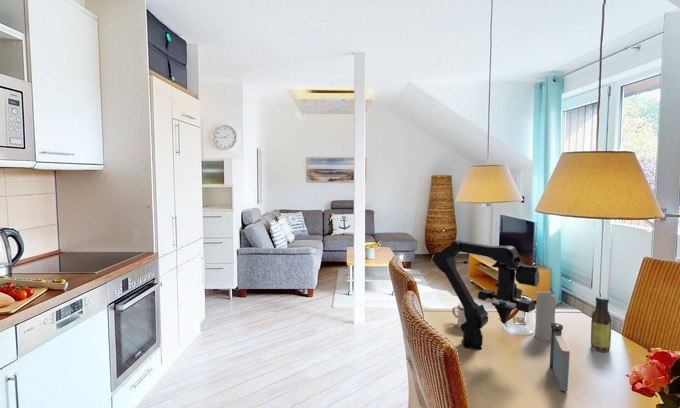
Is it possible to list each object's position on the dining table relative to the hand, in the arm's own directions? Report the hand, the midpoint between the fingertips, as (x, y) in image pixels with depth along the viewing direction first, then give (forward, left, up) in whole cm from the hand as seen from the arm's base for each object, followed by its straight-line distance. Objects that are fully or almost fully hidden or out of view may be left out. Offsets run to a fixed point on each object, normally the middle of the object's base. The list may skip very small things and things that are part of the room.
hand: (504, 323), depth 134 cm
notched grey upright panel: (+23, +23, -12) cm, 35 cm away
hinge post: (+15, -6, -12) cm, 20 cm away
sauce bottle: (+38, +14, -12) cm, 42 cm away
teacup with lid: (-10, +26, -12) cm, 30 cm away
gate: (+14, -14, -11) cm, 23 cm away
